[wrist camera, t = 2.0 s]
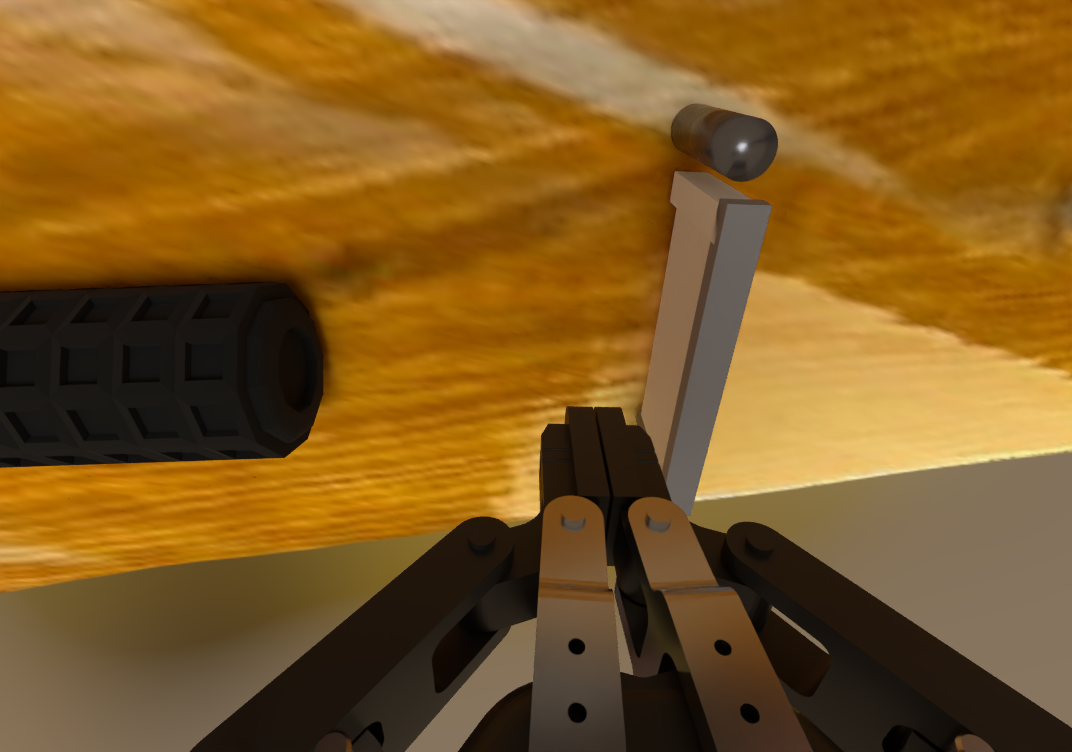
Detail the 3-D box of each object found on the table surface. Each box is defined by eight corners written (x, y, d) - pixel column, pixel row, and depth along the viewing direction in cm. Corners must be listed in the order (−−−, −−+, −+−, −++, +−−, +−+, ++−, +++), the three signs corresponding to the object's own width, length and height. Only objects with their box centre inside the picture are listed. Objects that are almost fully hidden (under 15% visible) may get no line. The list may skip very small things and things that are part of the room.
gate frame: (726, 104, 27) (830, 127, 18) (655, 457, 40) (695, 581, 30) (669, 102, 27) (744, 123, 18) (616, 457, 40) (643, 580, 30)
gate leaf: (658, 426, 37) (690, 515, 30) (632, 425, 37) (658, 515, 30) (708, 168, 28) (772, 205, 21) (675, 167, 28) (727, 203, 21)
